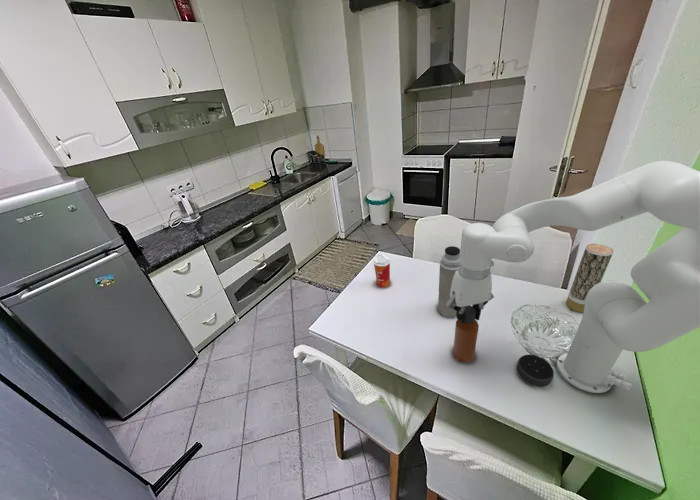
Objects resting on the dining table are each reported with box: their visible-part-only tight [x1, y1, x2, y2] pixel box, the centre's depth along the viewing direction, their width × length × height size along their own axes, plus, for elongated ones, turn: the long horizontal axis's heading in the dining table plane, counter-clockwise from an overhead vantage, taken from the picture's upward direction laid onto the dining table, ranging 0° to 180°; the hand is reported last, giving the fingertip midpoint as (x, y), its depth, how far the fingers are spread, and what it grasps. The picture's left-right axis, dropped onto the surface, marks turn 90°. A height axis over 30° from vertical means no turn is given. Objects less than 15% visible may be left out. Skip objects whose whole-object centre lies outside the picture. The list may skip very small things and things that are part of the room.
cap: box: [464, 305, 476, 323], centre depth 81 cm, size 4×4×3 cm
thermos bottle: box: [437, 245, 461, 318], centre depth 101 cm, size 8×8×28 cm
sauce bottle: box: [452, 318, 480, 364], centre depth 86 cm, size 6×6×20 cm
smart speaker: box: [516, 354, 555, 388], centre depth 81 cm, size 9×9×4 cm
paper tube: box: [565, 243, 614, 313], centre depth 95 cm, size 7×7×25 cm
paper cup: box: [372, 254, 391, 289], centre depth 124 cm, size 8×8×14 cm
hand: (467, 318), depth 82 cm, fingers closed on cap, 4 cm apart
